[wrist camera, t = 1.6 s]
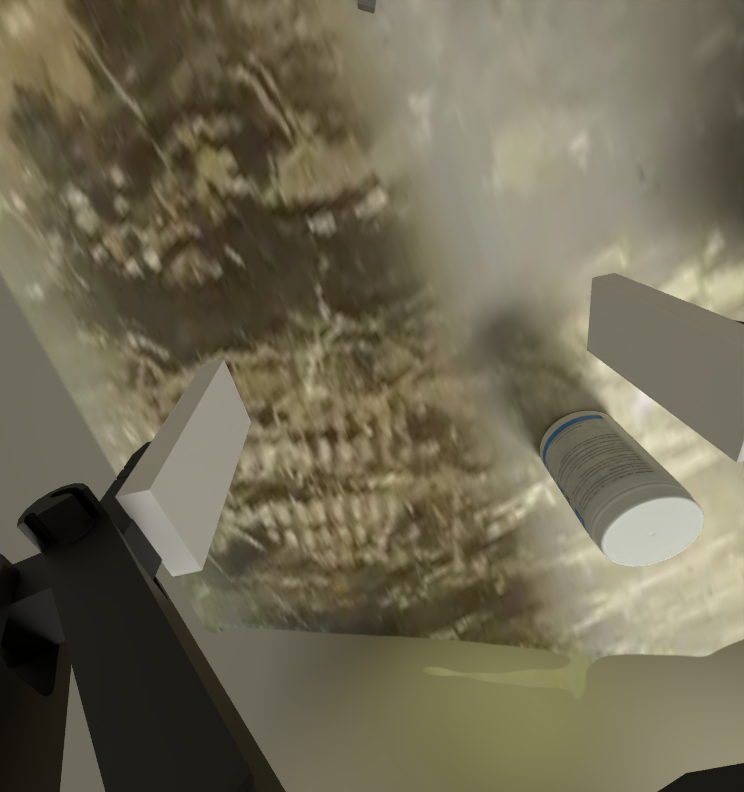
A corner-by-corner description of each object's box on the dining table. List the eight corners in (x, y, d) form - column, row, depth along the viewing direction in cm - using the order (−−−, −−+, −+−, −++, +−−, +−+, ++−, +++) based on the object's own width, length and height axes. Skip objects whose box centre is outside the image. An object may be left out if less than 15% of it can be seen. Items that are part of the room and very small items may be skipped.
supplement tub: (523, 461, 51) (577, 559, 39) (561, 398, 47) (636, 485, 34) (590, 476, 53) (664, 576, 40) (633, 417, 48) (730, 507, 36)
